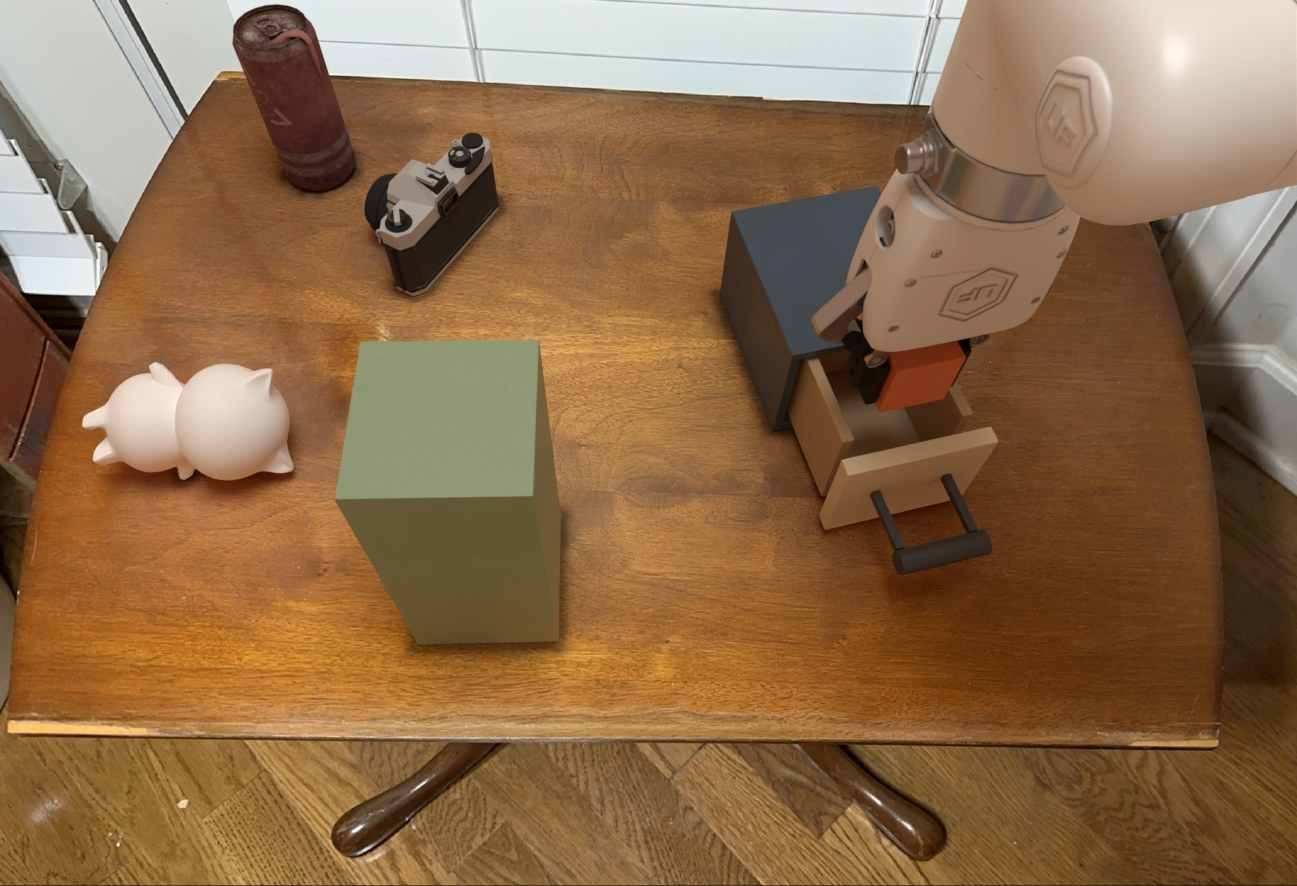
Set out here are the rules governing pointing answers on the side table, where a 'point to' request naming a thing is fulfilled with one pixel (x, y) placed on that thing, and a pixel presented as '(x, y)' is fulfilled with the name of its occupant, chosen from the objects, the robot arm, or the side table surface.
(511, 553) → the stand
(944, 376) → the block
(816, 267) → the cabinet
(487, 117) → the side table surface
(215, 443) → the cat figurine
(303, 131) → the can
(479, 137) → the camera
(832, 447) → the drawer
